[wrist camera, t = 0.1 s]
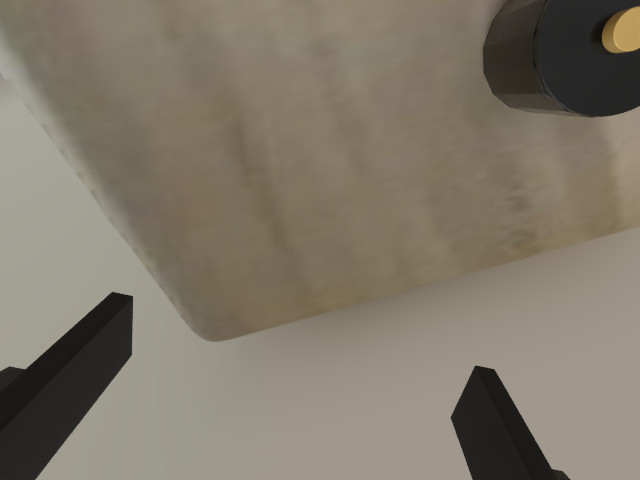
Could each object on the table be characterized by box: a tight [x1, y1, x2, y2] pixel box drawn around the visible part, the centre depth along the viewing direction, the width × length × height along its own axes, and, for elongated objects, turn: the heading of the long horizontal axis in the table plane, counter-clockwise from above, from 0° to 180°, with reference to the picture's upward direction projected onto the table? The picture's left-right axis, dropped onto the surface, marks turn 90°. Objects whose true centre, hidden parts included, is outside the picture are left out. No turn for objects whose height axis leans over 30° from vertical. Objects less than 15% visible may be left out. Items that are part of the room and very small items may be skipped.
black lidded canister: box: [483, 0, 640, 118], centre depth 29 cm, size 11×11×11 cm
